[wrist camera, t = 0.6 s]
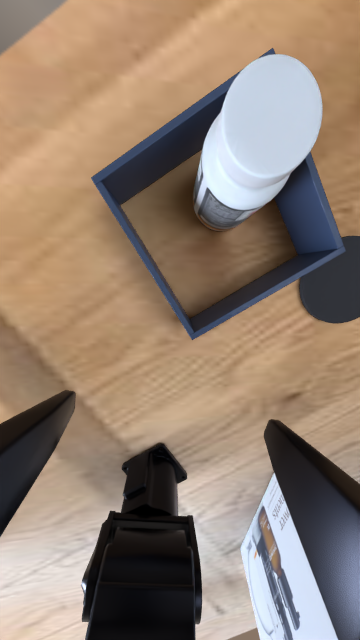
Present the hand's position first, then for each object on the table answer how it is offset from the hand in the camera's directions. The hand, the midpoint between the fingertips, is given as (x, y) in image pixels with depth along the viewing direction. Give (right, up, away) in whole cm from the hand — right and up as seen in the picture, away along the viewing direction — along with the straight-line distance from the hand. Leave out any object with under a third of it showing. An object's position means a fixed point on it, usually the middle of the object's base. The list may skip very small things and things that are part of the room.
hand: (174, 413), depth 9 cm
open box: (+3, +13, +10) cm, 17 cm away
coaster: (+18, +8, +12) cm, 23 cm away
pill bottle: (+4, +16, +10) cm, 19 cm away
